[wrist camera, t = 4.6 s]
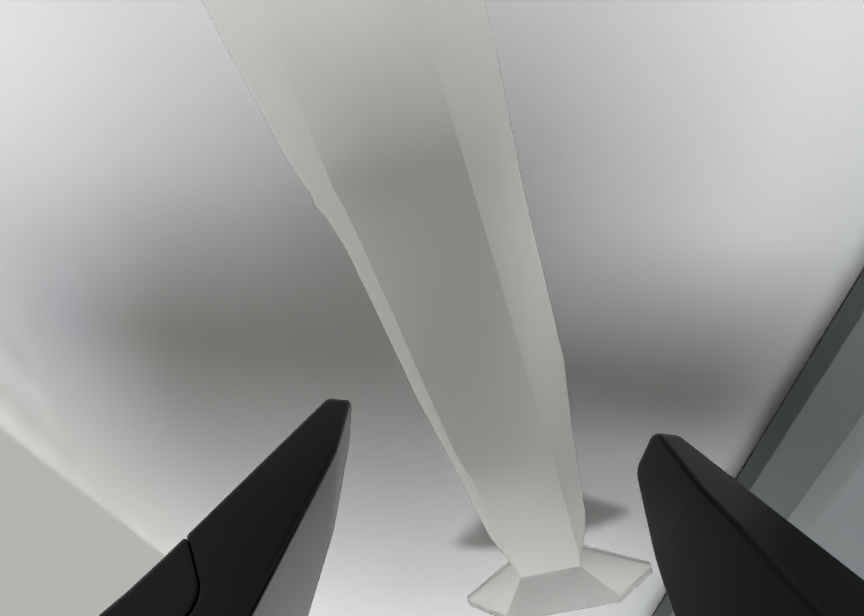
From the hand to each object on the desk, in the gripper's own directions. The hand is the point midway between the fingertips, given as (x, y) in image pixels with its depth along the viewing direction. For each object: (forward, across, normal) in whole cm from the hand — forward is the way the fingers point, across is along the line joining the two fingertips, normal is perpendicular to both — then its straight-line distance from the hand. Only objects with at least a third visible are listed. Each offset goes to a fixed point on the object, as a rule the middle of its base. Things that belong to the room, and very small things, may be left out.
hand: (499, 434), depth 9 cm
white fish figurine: (+4, 0, 0) cm, 4 cm away
